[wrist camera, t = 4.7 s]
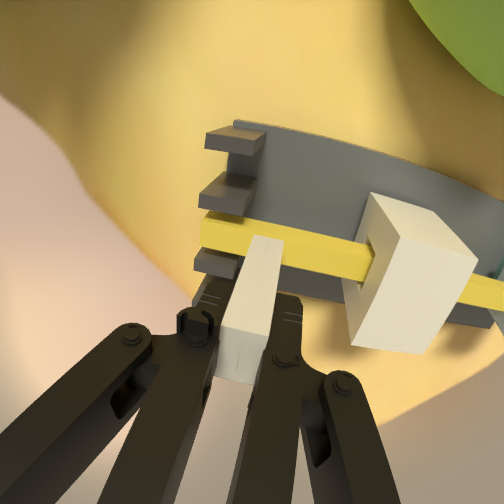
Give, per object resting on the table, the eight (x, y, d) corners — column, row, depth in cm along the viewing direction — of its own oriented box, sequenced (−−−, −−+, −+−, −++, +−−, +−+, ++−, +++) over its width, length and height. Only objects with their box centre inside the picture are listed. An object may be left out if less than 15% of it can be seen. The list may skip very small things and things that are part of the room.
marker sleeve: (341, 278, 21) (350, 344, 15) (370, 191, 18) (400, 236, 12) (399, 290, 21) (422, 354, 15) (432, 211, 17) (478, 259, 11)
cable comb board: (214, 268, 24) (185, 326, 18) (234, 119, 18) (199, 127, 12) (486, 322, 22) (511, 372, 16) (537, 220, 17) (582, 258, 10)
